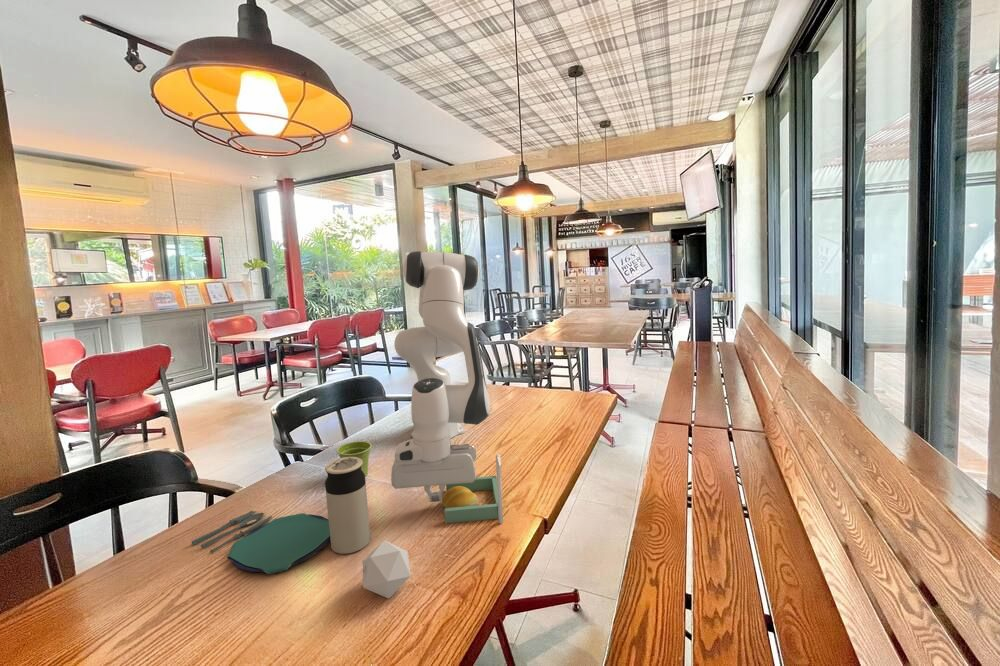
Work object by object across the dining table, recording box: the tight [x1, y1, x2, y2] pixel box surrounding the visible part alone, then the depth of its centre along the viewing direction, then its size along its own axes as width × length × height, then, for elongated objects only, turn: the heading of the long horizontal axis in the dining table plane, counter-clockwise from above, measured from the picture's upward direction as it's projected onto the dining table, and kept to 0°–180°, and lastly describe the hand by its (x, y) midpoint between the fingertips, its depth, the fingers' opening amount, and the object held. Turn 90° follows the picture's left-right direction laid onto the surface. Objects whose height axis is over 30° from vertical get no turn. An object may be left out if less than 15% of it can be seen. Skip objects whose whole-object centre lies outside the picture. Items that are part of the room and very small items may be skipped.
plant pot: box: [336, 440, 372, 478], centre depth 125 cm, size 9×9×9 cm
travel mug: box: [324, 457, 371, 555], centre depth 93 cm, size 8×8×18 cm
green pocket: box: [444, 454, 504, 525], centre depth 104 cm, size 22×13×16 cm, turn 6°
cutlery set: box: [191, 510, 331, 575], centre depth 96 cm, size 20×30×2 cm, turn 64°
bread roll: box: [441, 486, 478, 508], centre depth 107 cm, size 8×9×4 cm
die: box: [361, 539, 412, 600], centre depth 79 cm, size 8×9×10 cm
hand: (435, 500), depth 107 cm, fingers closed
